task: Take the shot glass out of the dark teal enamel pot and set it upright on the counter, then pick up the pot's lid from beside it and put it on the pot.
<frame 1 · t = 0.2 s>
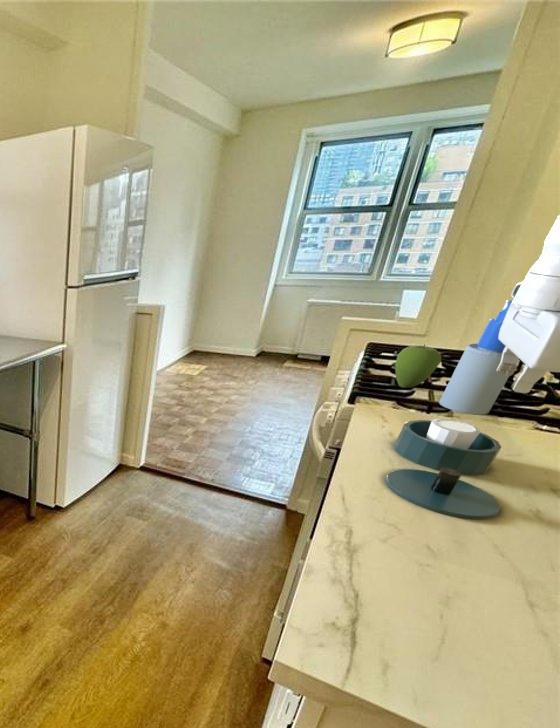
hand: (510, 382, 79), 19 cm above the worktop, tool pointing down, fingers open, 8 cm apart
green mango: (405, 387, 129), on the worktop
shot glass: (438, 458, 95), resting on pot
pot: (437, 459, 95), on the worktop
lid: (439, 493, 83), point 1 cm above the worktop
spray bottle: (462, 407, 117), on the worktop
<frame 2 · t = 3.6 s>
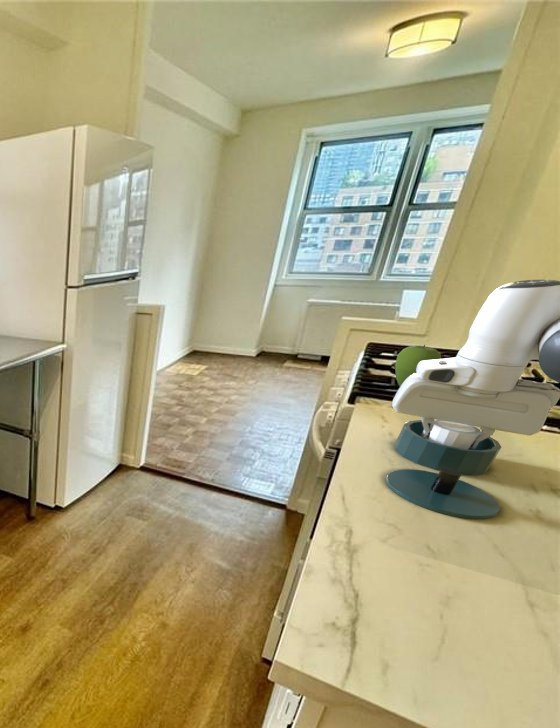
hand: (446, 442, 93), 4 cm above the worktop, tool pointing down, fingers closed on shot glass, 5 cm apart
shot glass: (438, 458, 95), resting on pot, touching gripper
everything else where it was.
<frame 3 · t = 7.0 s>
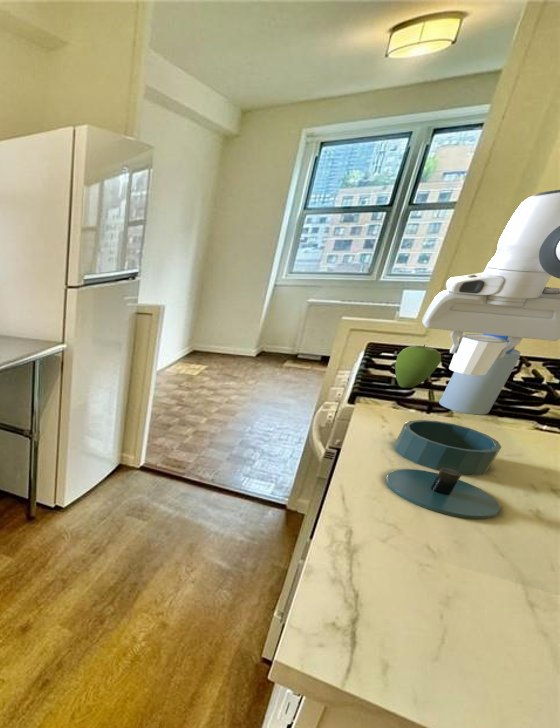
hand: (474, 355, 98), 17 cm above the worktop, tool pointing down, fingers closed on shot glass, 5 cm apart
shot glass: (466, 371, 100), point 13 cm above the worktop, touching gripper
everything else where it was.
when the fingers open (3 cm above the worktop, at t = 10.5 s): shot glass stays where it is, on the worktop.
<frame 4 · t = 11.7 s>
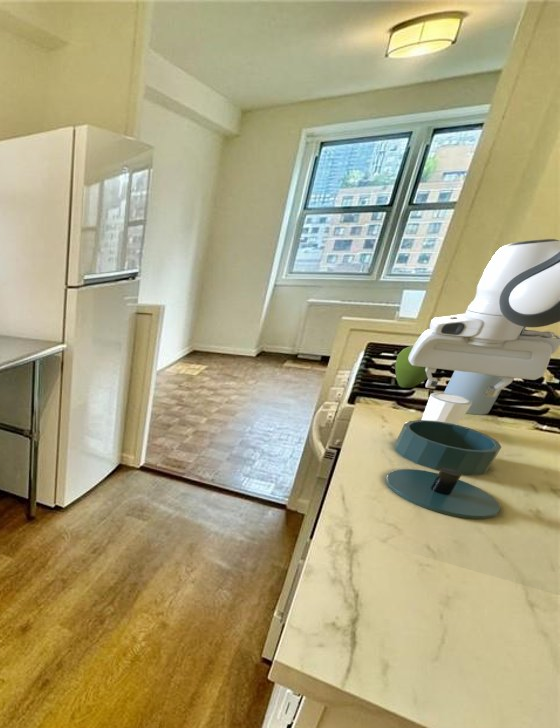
hand: (459, 391, 103), 9 cm above the worktop, tool pointing down, fingers open, 8 cm apart
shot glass: (435, 427, 107), on the worktop
everything else where it was.
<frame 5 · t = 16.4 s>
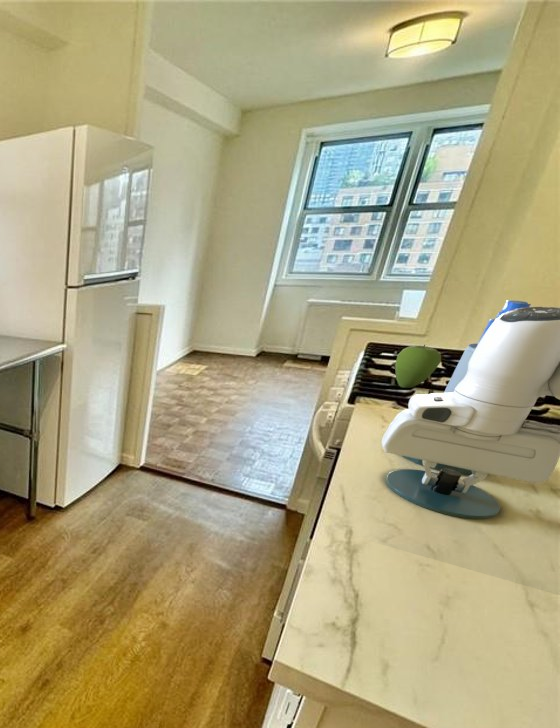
hand: (442, 487, 82), 2 cm above the worktop, tool pointing down, fingers closed on lid, 2 cm apart
lid: (439, 493, 83), point 1 cm above the worktop, touching gripper
everything else where it was.
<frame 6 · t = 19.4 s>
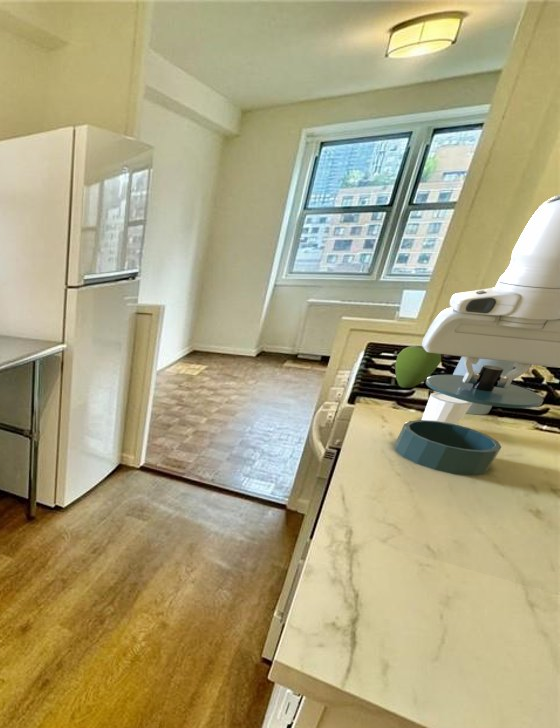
hand: (483, 384, 84), 17 cm above the worktop, tool pointing down, fingers closed on lid, 2 cm apart
lid: (480, 391, 84), point 16 cm above the worktop, touching gripper
everything else where it was.
when the fingers open (7 cm above the worktop, at t = 22.5 s): lid stays where it is, resting on pot.
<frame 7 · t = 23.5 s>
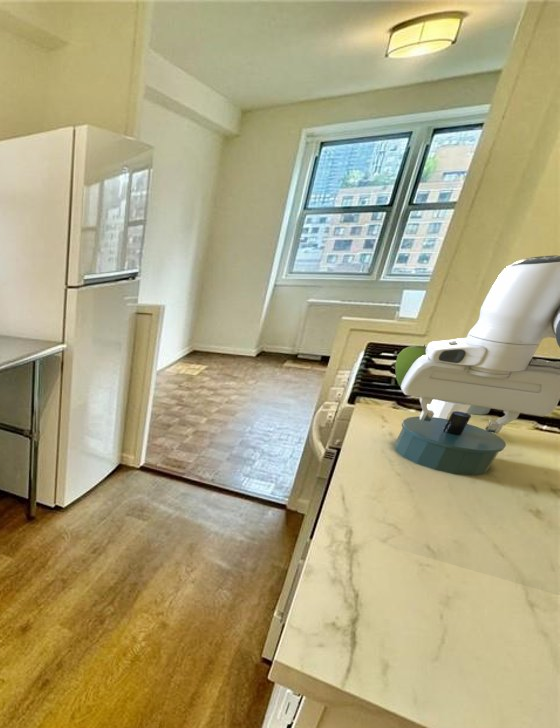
hand: (456, 425, 91), 7 cm above the worktop, tool pointing down, fingers open, 8 cm apart
lid: (450, 435, 92), point 5 cm above the worktop, touching pot
everything else where it was.
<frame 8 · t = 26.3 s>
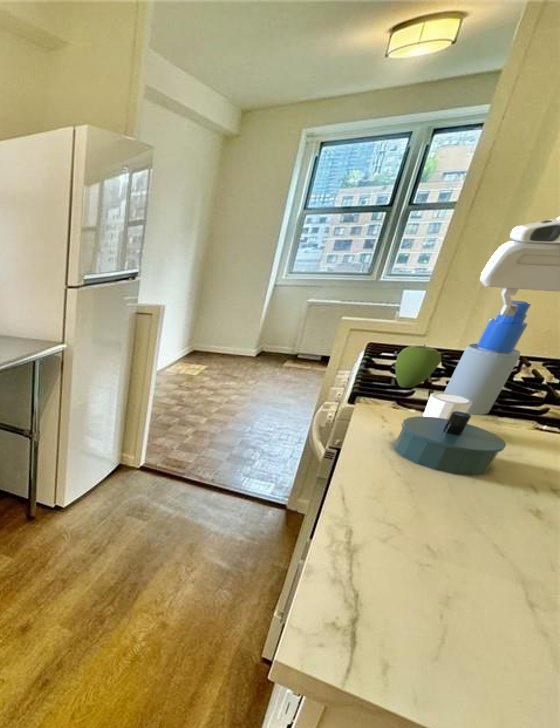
hand: (544, 318, 83), 27 cm above the worktop, tool pointing down, fingers open, 8 cm apart
nothing on the worktop moved.
at the end: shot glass inside the target area (0.1 cm from its centre), on the worktop; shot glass tilted 0°; lid 0.0 cm off-centre on the pot, point 5.4 cm above the pot's base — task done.
